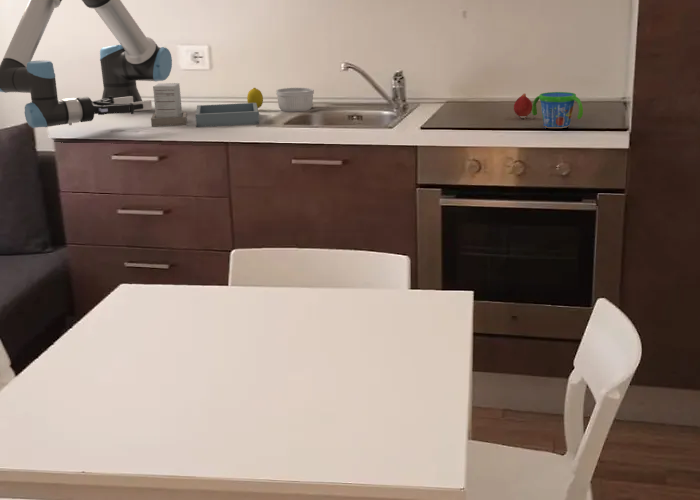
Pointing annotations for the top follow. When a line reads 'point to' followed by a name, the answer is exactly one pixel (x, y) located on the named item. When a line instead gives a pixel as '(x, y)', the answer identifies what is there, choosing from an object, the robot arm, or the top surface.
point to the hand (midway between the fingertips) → (141, 102)
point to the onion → (523, 106)
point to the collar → (169, 120)
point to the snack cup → (557, 108)
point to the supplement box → (167, 100)
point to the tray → (227, 114)
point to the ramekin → (295, 99)
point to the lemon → (255, 97)
